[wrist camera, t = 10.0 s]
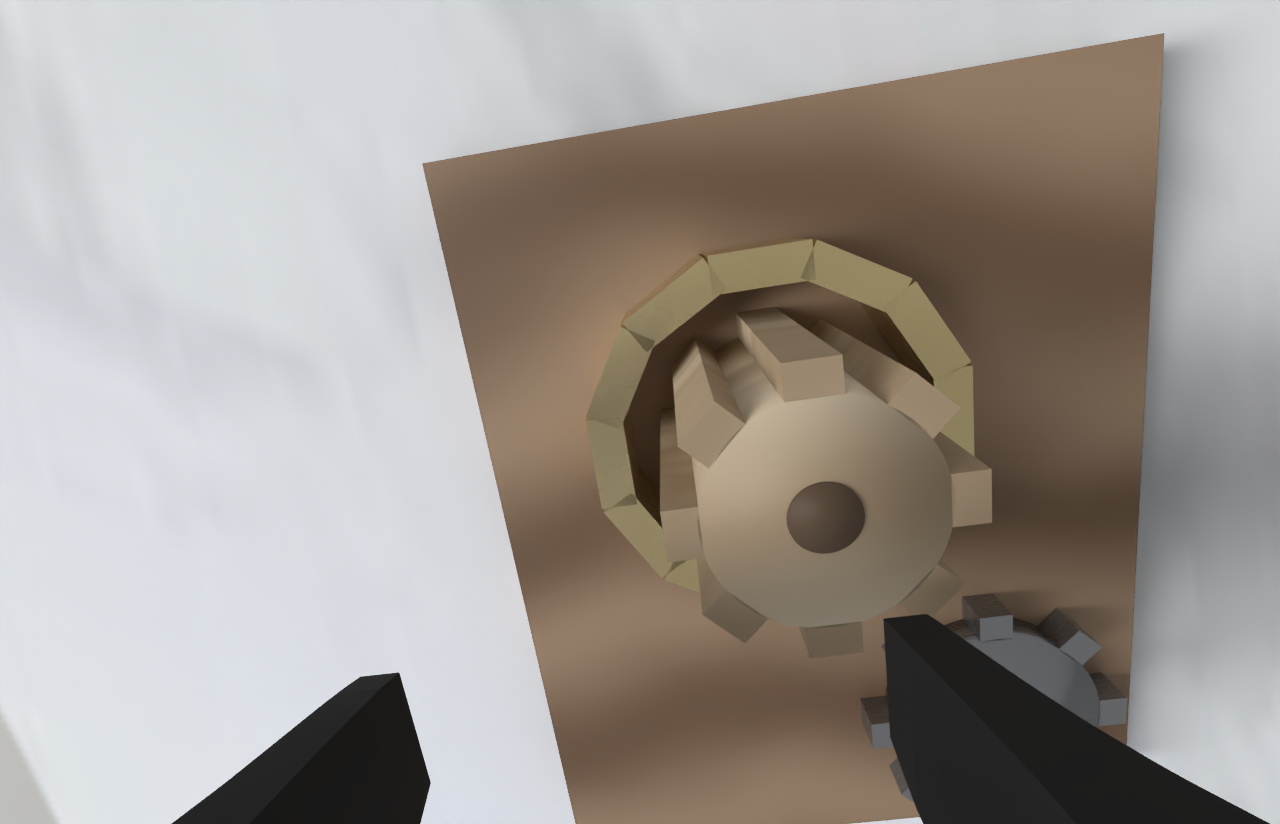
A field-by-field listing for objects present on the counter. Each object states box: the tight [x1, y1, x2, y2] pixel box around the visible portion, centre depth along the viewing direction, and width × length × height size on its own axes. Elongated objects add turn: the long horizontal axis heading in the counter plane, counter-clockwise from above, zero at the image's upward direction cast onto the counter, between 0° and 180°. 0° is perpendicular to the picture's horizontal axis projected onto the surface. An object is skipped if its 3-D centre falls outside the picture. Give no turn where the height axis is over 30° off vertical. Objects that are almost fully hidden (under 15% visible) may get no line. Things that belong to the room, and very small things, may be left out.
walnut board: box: [423, 33, 1164, 824], centre depth 17 cm, size 20×16×2 cm
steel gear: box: [860, 593, 1127, 803], centre depth 17 cm, size 6×6×3 cm
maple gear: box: [660, 307, 992, 659], centre depth 13 cm, size 5×5×6 cm
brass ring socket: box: [586, 238, 974, 593], centre depth 15 cm, size 8×8×2 cm
